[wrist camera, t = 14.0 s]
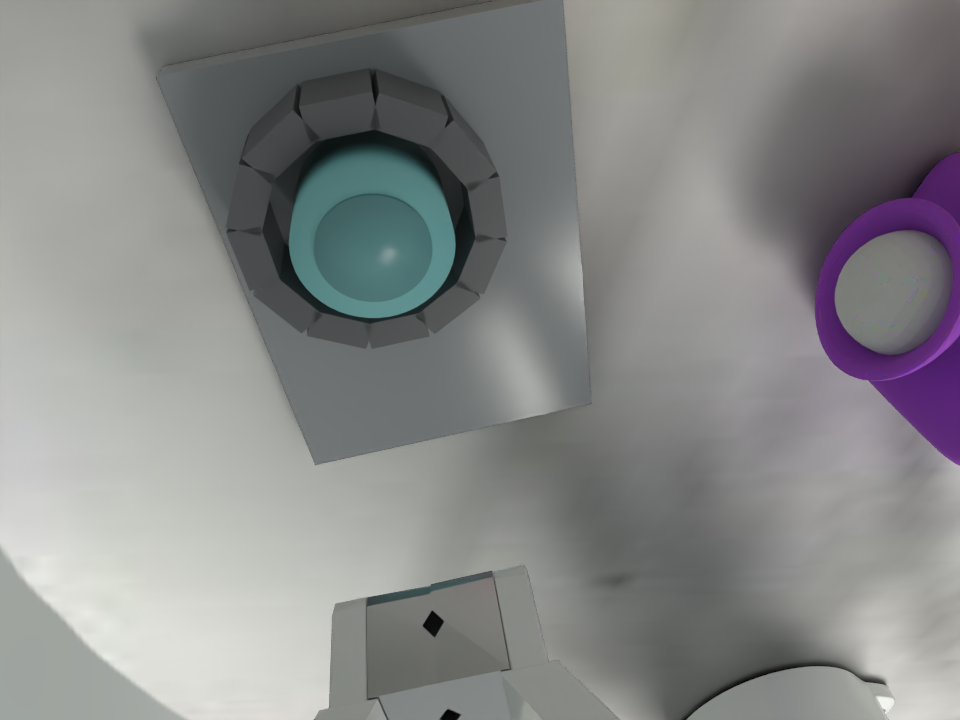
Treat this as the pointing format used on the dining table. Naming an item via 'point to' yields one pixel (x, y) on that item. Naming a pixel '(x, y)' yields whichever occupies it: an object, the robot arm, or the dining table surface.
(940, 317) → the toy camera
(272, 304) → the grey segmented ring
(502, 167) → the board
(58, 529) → the dining table surface
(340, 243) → the cap
